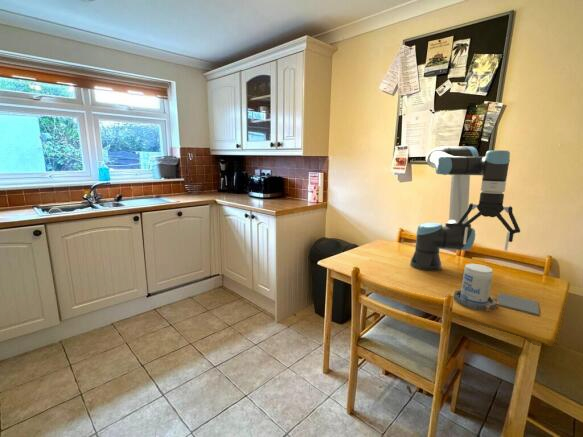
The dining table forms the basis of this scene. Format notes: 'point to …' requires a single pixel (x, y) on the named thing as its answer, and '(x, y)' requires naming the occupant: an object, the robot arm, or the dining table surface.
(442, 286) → the dining table surface
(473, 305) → the collar
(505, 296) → the trivet
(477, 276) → the supplement tub
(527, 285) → the dining table surface
